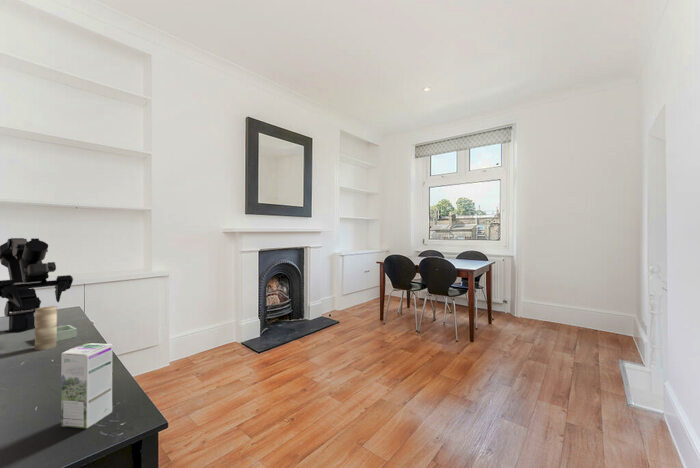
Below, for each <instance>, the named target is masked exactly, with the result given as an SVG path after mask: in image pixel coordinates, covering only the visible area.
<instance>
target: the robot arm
mask: <svg viewBox="0 0 700 468" xmlns="http://www.w3.org/2000/svg"><path fill="white" fill-rule="evenodd" d="M48 248H49V244H48V243H47V242H45V241H43V240H40V238H38V237H37V238H30V240H29V241H28V240H27V238H24V237H21V238H20V237H19V238H18V237H14V238H13V237H10V238H8V239H7V241H6V242H4V243H3V244H0V264H1V266H4V267H6V268H7V270H8V276H9V279H3V280H0V298H1V299H7V300H6V303H5V306H4V309H3V310H4V312H3V313H4V317H6V318H8V329H5V330H3V331H4V332H5V333H9V332H10V333H12V332H13V333H15V332H16V333H17V332H19V333H20V332H24V331H30V330H31V329H35V309H37V308H41V303H42V301H41V299H40V297H39V296H38V295H37V293H36V292H37V291H36V289H40V288H52V287H54V289H55V290H54V294H55V300H56V302H57V303H59V302H60V299H61V296H62V292H66V291H67V290H69V289H71V287H72V284H73V281H74V278H73V276H72V275H70V274H68V275H58V276H56V279H54V280H48V279H49V277H50V275H49V273H53V272H55V271H56V270H57V265H56V261H55V262H54V261H52V262H47V263H46V262H45V263H43V261H44V260H45V258H46V254H47V253H48V252H49V251H48Z"/></svg>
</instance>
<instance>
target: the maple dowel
mask: <svg viewBox="0 0 700 468" xmlns="http://www.w3.org/2000/svg"><path fill="white" fill-rule="evenodd" d="M34 317H35V325H34V326H35V328H34V350H35V351H43V350H48V349H52V348H55V347H56V346H57V341H56V339H57V327H58V325H57V324H58V323H57V322H58V306H56V305H54V306H53V305H52V306H50V305H49V306H43V307H40V308H37V309H35V313H34Z"/></svg>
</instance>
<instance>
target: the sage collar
mask: <svg viewBox="0 0 700 468" xmlns="http://www.w3.org/2000/svg"><path fill="white" fill-rule="evenodd" d="M73 337H74V338H78V328H76V327H75V326H72V325H70V324H67V325H60V326H57V339H56V342H58V341H65V340H68V339H73Z"/></svg>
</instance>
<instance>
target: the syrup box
mask: <svg viewBox="0 0 700 468" xmlns="http://www.w3.org/2000/svg"><path fill="white" fill-rule="evenodd" d="M60 363H61V369H60V370H61V375H60V378H61V381H60V382H61V385H60V386H61V388H60V389H61V390H60V394H61V395H60V397H61V398H60V399H61V401H60V402H61V403H60V413H61V414H60V417H61V418H60V426H61V427H63V428H74V429H75V428H76V429H88V428H90V427H92V426H94V425H95V424H97V423H98V422H99V421H101V420H102V419H103V420H104V419H105V418H106V417H107V416H109V415H110V414H111V413H113V344H112V343H97V342H93V343H92V342H90V343H89V342H88V343H83V344H80V345H77V346H75V347H72V348H70V349H67V350H66V351H64V352H61V362H60Z"/></svg>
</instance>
